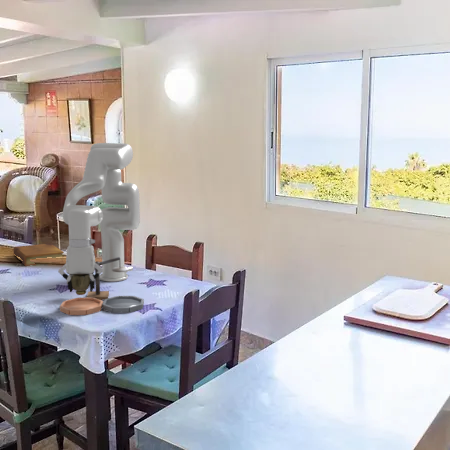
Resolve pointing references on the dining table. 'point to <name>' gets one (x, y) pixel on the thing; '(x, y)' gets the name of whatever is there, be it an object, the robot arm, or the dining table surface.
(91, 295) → the balance
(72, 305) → the dish terracotta
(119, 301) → the dish slate
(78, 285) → the cup
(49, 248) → the diary
